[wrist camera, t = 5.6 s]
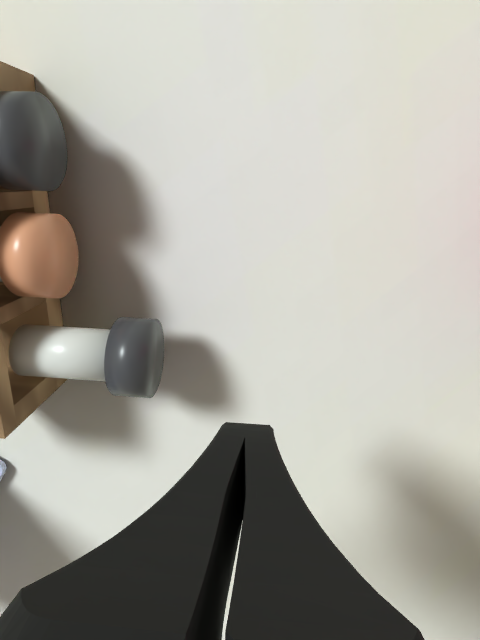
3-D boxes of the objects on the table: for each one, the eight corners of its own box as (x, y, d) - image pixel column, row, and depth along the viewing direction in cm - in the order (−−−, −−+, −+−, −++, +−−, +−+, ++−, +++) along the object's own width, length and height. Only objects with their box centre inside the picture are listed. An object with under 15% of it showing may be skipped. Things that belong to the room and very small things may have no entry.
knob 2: (165, 375, 21) (143, 413, 18) (49, 368, 22) (7, 402, 18) (162, 309, 20) (139, 335, 17) (40, 302, 21) (-7, 326, 17)
